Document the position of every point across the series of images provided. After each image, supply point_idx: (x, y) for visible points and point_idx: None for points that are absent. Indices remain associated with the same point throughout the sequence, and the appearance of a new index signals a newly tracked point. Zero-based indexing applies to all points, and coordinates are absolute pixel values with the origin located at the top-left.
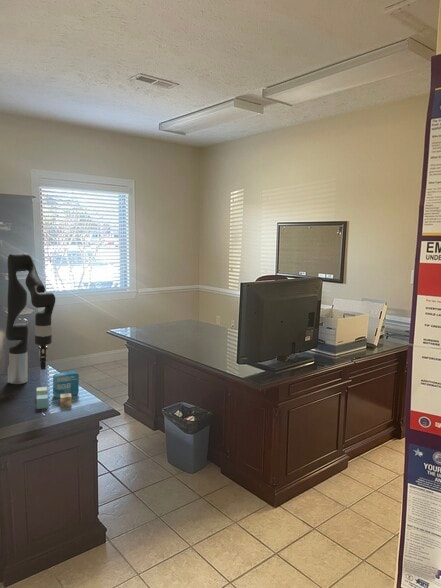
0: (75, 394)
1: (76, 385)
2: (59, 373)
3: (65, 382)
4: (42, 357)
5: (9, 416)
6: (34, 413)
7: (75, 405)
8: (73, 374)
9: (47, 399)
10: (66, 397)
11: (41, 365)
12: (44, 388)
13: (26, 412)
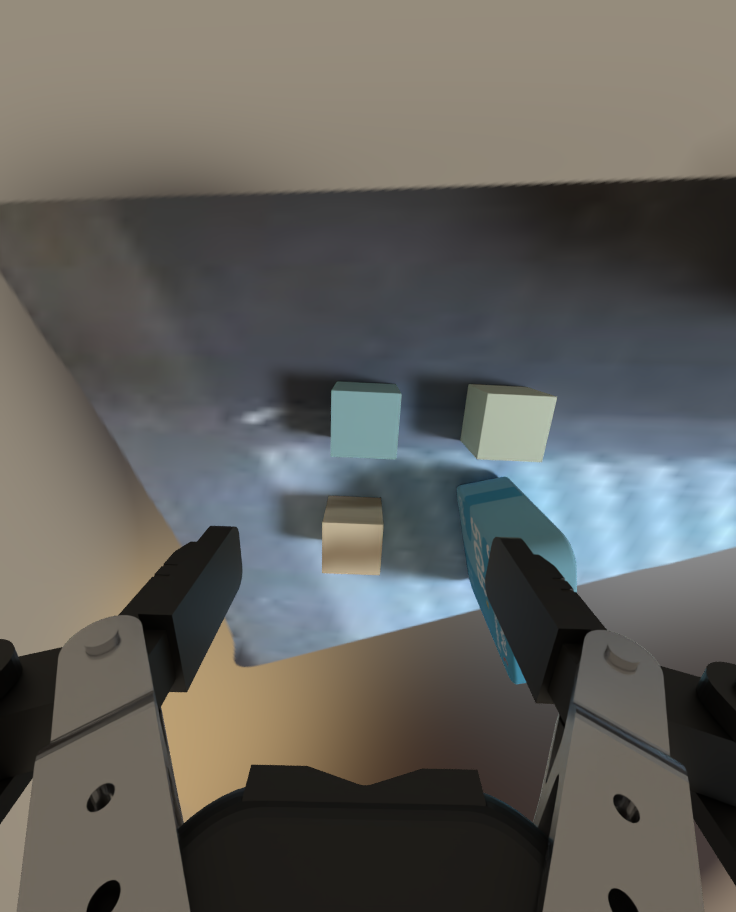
0: (468, 572)
1: (484, 612)
2: None
3: None
4: (542, 645)
5: (256, 220)
6: (274, 368)
7: None
8: (510, 662)
9: (331, 451)
10: (322, 549)
11: (150, 580)
12: (518, 444)
13: (298, 324)
